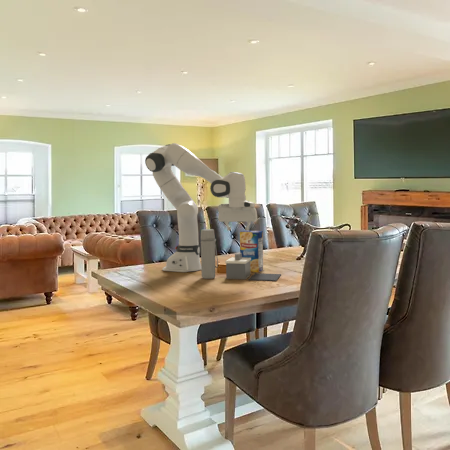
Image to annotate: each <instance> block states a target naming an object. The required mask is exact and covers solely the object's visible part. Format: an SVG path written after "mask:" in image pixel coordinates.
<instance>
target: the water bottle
mask: <svg viewBox="0 0 450 450" xmlns="http://www.w3.org/2000/svg"><path fill="white" fill-rule="evenodd" d="M216 241H217V238H216V236H215V229H213V228H210V229H209V228H207V229H206V228H205V229H204V228H203V229H201V232H200V256H201V257H200V263H201V270H200V271H201V278H202V279H205V280H211V279H214V278H216V268H217V269H218V266H219V261H218V260H219V259H218V252H217V243H216ZM216 263H217V264H216Z"/></svg>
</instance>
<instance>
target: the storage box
mask: <svg viewBox="0 0 450 450" xmlns="http://www.w3.org/2000/svg"><path fill="white" fill-rule="evenodd" d="M225 267H226V269H225V272H226V273H225V275H226V279H227V280H246V279H249V278H250V277H251V276H252V275H251V274H252V272H251V268H250V261H249V262H247V263H246V264H234V263H225Z"/></svg>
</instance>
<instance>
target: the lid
mask: <svg viewBox="0 0 450 450" xmlns="http://www.w3.org/2000/svg"><path fill="white" fill-rule="evenodd" d="M250 260H251V258H245V257H242V253H240V252H236V253H235V254H234V256H232V257H230V258H228V259H226V260H225V263H224V264H226V263H234V264H246V263H247V262H249V261H250Z"/></svg>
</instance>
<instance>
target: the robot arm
mask: <svg viewBox="0 0 450 450" xmlns="http://www.w3.org/2000/svg"><path fill="white" fill-rule="evenodd" d="M144 162H145V163H144V164H145V166H146V168H147V169H148V170H149V171H150V172H152V176H153V179H154V181H155V183H156V184H157V185H158V188H159V189H160V191H161V192H162V193H163V194H164V196H165V198H166V199H167V200H168V201H169V203H171V205H172V206H173V207H174V209H176V212H177V213H176V215H177V216H176V217H177V218H176V219H177V227H178V245H176V246H175V248H174V250H176V251H175V252H174V253H172V255H170V256H169V257H168V258H167V259H166V265H165V266H164V267H162V271H165V272H176V273H177V272H178V273H187V272H197V271H201V257H200V254H201V247H200V244H199V225H198V214H199V206H198V205H197V204H196V202H195V201H194V199H193V198H192V197H191V196H190V194H189V193H188V191H187V190H186V189H185V188H184V186H183V185H182V183H181V182H180V180H179V179H178V177H177V176H176V175H175V173H174V172H173V170H172V166H173V167H174V166H175V167H176V168H177V169H178V170H180V171H181V172H183V173H185V174H187V175H191V176H196V177H200V178H203V179H205V180H206V181H207V182H209V183H210V187H209V189H210V193H211V194H212V196H214V197H215V198H223V199H224V198H225V199H226V198H228V203H221V204H219V205H218V206H217V211H218V217H217V220H218V221H219V222H221V223H222V222H223V223H224V224H225V226H226V227H227V231H231V230H232V226H230V225H229V222H230V223H235V222H236V223H239V222H241V223H243V222H246V224H247V225H246V226H245V227H244V231H250V226H251V224H252V223H254V222H258V212H257V209H256V203H255V202H253V201H250V200H247V197H246V187H247V186H246V177H245V175H244V174H243V173H242V172H238V171H236V172H235V171H230V172H229V173H228V174H227V175H224V176H222V175H220V174H219V173H217V171H215V170H214V169H211V168H210V167H209V165H207V164H206V163H204V162H203V161H202V160H201V159H200V158H199V157H197V155H196V154H194V153H193V152H191V151H190V150H189V149H187V148H186V147H185V146H183V145H180V144H179V143H175V142H174V143H170V144H166V145H164V146H161V147H158V148H157V149H155V150H154V151H152V152H150V153H149V154H148V155H147V156H146V157H145V161H144Z"/></svg>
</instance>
